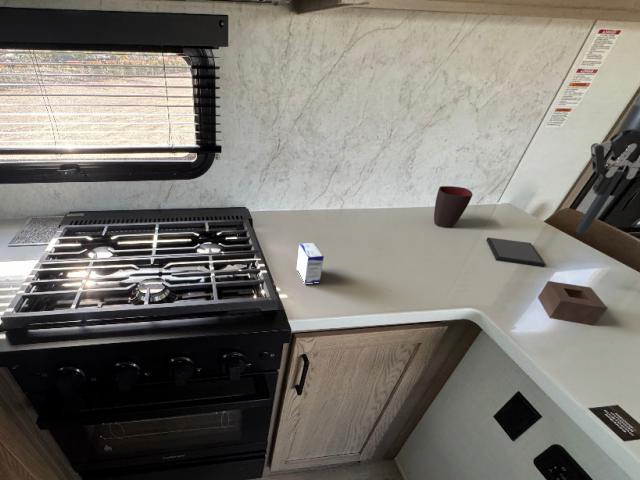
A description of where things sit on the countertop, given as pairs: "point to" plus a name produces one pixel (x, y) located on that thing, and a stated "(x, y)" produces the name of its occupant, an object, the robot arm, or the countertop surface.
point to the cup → (450, 205)
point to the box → (309, 262)
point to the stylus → (598, 203)
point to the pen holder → (571, 303)
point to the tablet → (515, 252)
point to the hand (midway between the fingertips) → (604, 193)
